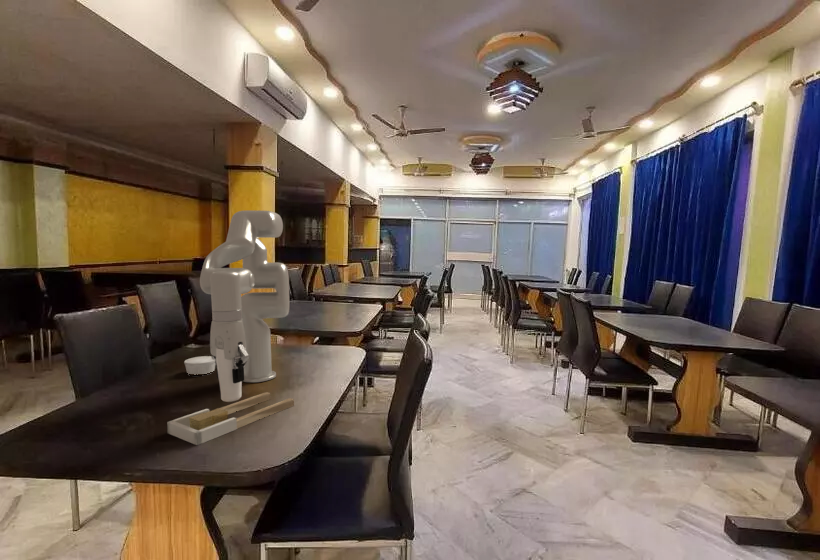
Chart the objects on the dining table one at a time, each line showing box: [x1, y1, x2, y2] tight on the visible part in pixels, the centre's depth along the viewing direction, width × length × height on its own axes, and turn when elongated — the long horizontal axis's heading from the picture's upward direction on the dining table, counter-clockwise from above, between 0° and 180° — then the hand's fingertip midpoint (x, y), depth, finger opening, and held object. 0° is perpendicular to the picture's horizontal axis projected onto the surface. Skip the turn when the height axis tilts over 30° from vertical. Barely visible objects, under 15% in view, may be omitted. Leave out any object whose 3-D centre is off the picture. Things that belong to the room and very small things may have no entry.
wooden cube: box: [206, 407, 229, 425], centre depth 116 cm, size 4×4×4 cm
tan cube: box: [189, 413, 213, 430], centre depth 113 cm, size 4×4×4 cm
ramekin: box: [183, 355, 216, 375], centre depth 168 cm, size 11×11×5 cm
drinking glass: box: [216, 348, 243, 403], centre depth 120 cm, size 7×7×15 cm
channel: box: [218, 391, 295, 429], centre depth 126 cm, size 13×20×2 cm, turn 147°
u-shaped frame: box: [166, 408, 238, 446], centre depth 113 cm, size 13×11×3 cm
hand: (230, 379), depth 120 cm, fingers closed on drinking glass, 6 cm apart
